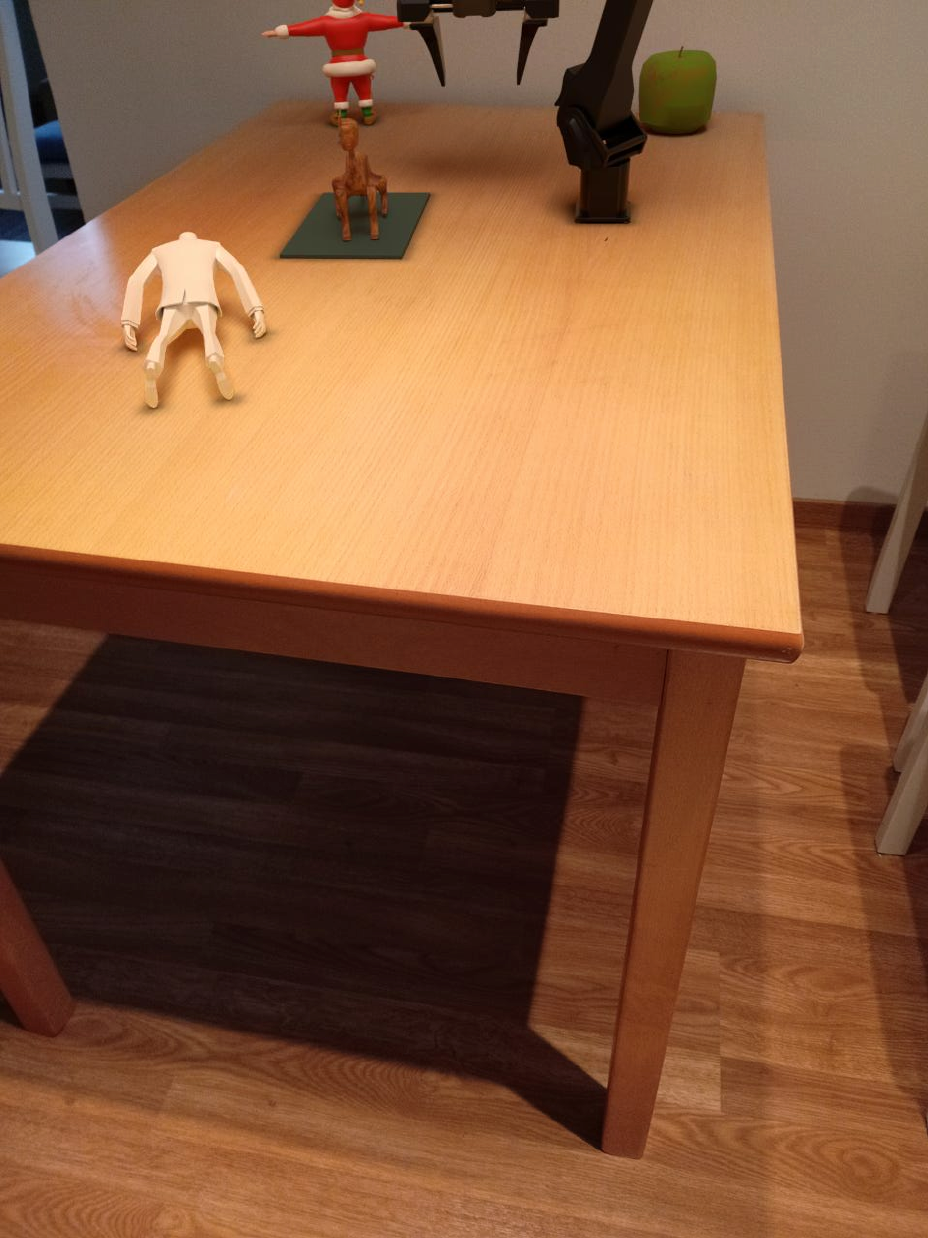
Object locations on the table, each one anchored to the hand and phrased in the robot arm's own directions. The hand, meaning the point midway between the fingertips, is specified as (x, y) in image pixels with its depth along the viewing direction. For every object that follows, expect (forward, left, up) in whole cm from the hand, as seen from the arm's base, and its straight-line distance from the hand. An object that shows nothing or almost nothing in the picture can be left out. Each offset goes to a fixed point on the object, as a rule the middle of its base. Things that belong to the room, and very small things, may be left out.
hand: (481, 85), depth 120 cm
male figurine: (-48, +23, -12) cm, 55 cm away
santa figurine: (+32, +24, -12) cm, 41 cm away
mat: (-14, +14, -12) cm, 23 cm away
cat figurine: (-14, +13, -12) cm, 23 cm away
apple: (+28, -25, -12) cm, 40 cm away
